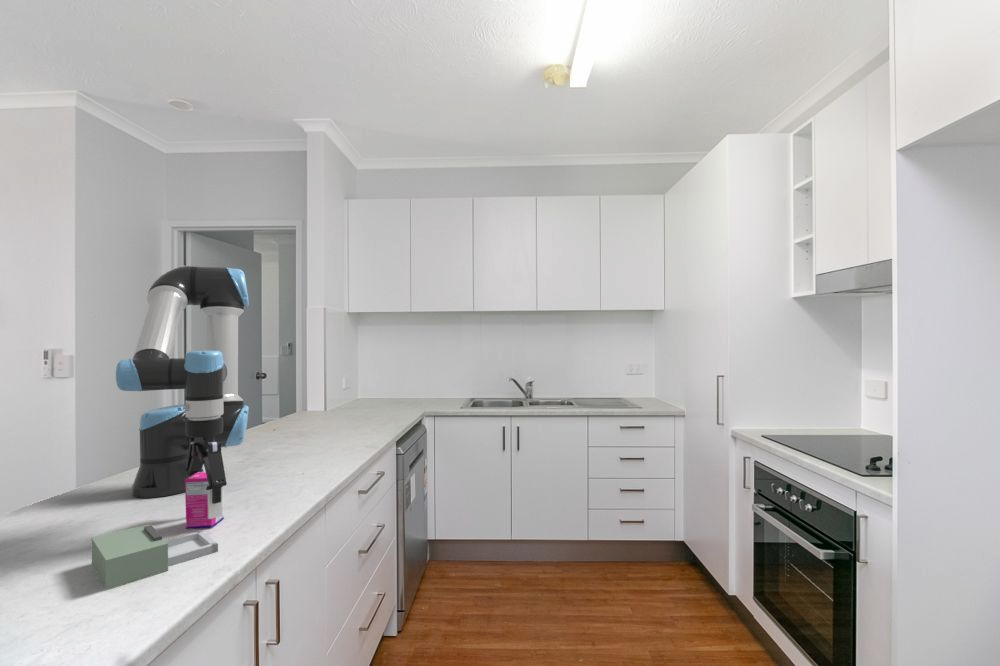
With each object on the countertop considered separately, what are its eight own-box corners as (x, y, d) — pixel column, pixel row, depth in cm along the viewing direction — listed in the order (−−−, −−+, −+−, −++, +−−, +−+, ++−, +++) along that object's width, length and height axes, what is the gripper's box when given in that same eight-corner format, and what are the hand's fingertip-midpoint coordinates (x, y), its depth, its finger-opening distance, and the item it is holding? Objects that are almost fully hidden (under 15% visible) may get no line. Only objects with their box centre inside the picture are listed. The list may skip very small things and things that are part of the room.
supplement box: (198, 519, 115) (198, 471, 115) (224, 518, 115) (224, 470, 116) (184, 529, 109) (184, 478, 109) (212, 528, 110) (211, 477, 110)
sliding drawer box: (91, 564, 93) (91, 534, 93) (198, 535, 106) (198, 509, 106) (106, 589, 83) (106, 556, 83) (221, 554, 97) (221, 525, 97)
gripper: (170, 414, 118) (170, 501, 118) (204, 426, 101) (204, 528, 101) (204, 410, 124) (205, 494, 124) (242, 421, 107) (243, 518, 107)
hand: (204, 510), depth 112 cm, fingers open, 13 cm apart
